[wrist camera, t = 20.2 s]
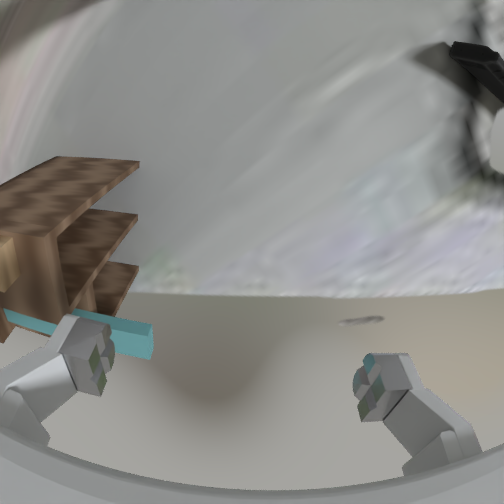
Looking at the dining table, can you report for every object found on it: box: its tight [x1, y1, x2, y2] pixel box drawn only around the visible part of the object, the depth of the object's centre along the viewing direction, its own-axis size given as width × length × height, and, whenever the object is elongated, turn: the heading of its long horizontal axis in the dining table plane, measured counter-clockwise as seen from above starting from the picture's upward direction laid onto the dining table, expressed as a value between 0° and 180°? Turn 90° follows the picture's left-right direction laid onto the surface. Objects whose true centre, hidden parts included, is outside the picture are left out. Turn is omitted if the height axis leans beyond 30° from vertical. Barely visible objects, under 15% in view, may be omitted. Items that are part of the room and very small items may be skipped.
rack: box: [0, 156, 139, 343], centre depth 34 cm, size 16×20×32 cm
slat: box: [3, 308, 154, 360], centre depth 33 cm, size 22×4×2 cm, turn 81°
